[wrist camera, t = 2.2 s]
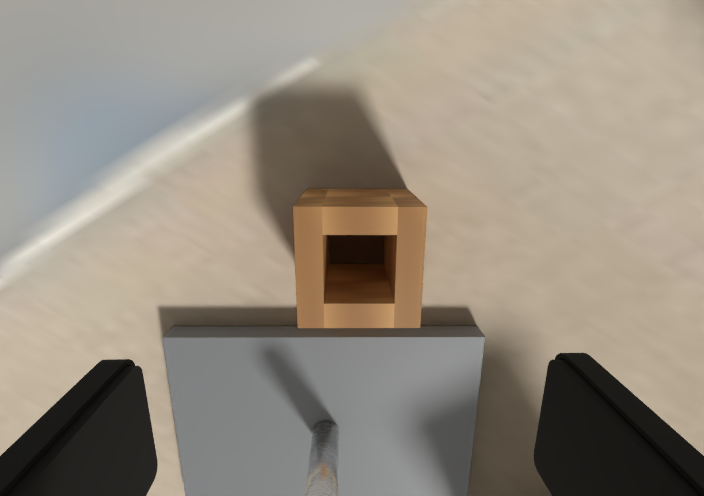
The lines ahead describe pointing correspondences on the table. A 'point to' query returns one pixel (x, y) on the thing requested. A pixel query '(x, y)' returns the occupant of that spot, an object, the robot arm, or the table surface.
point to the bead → (359, 279)
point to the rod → (323, 460)
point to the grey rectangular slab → (324, 407)
